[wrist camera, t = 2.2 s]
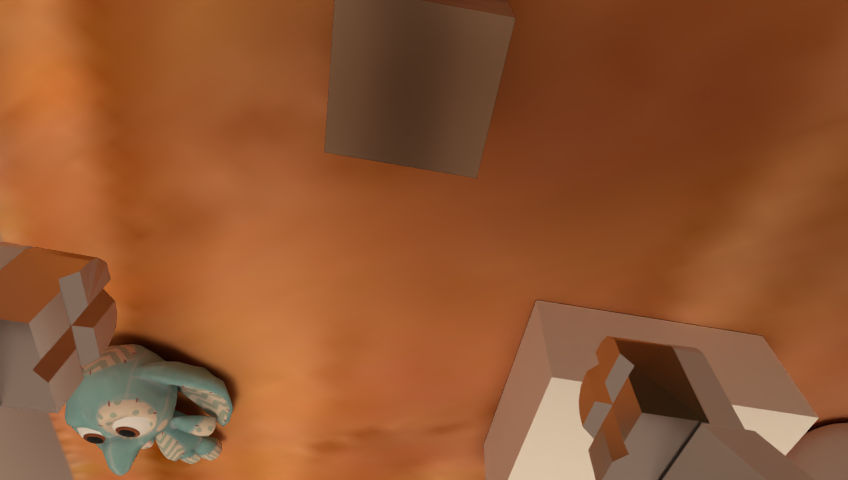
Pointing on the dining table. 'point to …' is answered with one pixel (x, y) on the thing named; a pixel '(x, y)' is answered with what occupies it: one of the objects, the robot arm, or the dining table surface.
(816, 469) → the cup
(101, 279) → the robot arm
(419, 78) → the walnut block
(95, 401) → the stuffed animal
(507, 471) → the plinth
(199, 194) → the dining table surface
